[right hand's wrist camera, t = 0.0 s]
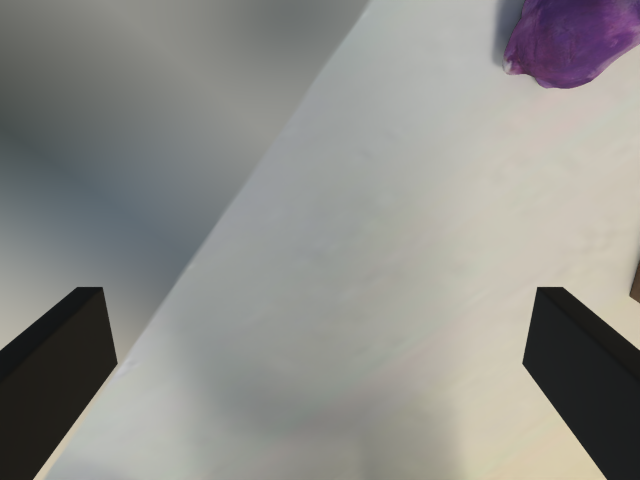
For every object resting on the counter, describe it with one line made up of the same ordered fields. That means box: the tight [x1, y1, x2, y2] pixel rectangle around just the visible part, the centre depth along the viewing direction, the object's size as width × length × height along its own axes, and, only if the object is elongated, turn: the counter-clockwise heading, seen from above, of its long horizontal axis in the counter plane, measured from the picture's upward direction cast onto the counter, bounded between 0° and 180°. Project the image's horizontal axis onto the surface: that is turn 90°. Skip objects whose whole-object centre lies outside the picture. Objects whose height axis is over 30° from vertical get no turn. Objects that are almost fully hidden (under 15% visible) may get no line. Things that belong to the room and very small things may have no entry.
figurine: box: [503, 0, 640, 89], centre depth 28 cm, size 9×10×15 cm
